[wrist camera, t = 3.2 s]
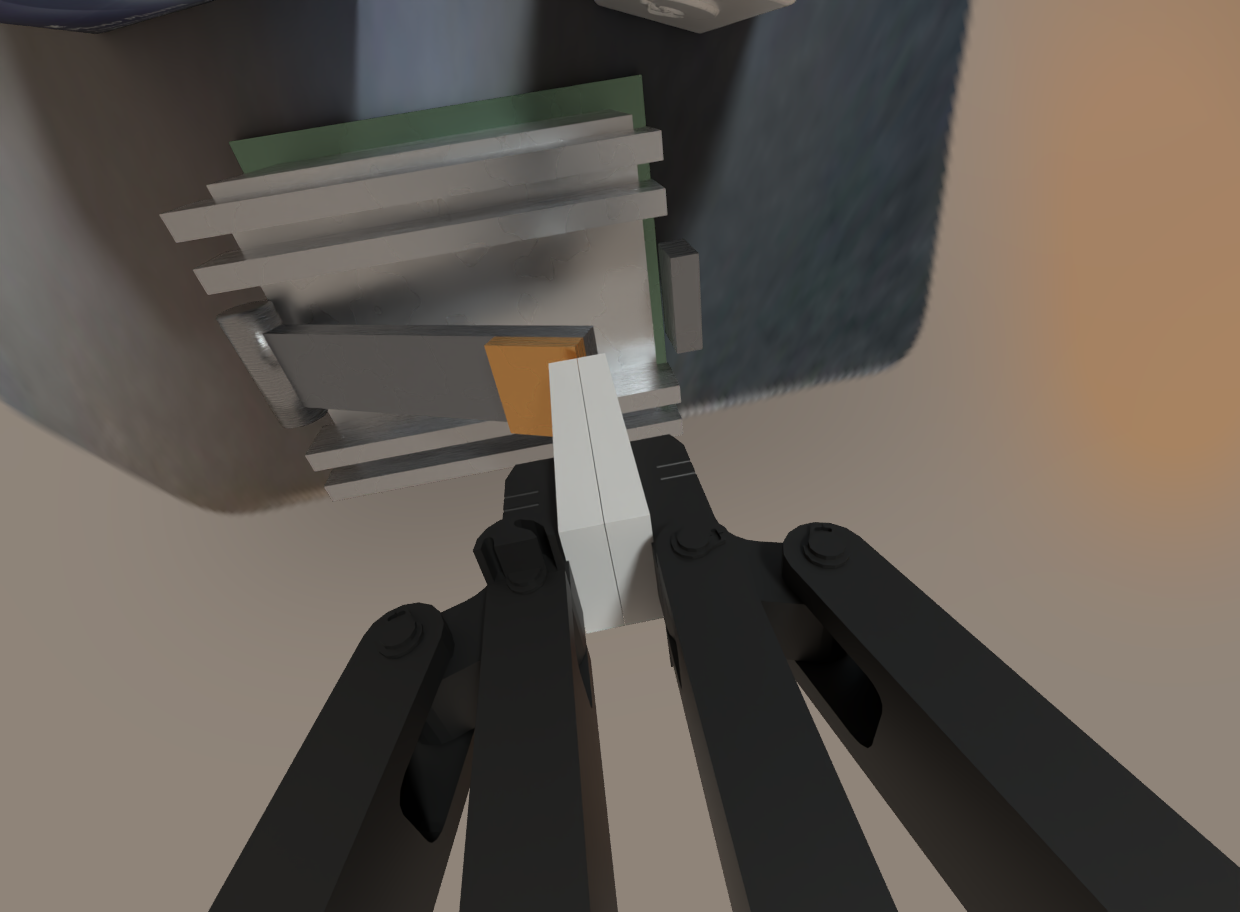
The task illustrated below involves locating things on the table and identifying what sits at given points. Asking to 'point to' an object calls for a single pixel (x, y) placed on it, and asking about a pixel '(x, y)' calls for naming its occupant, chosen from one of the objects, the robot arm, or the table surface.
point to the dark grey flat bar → (404, 367)
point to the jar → (695, 11)
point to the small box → (87, 13)
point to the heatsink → (463, 255)
